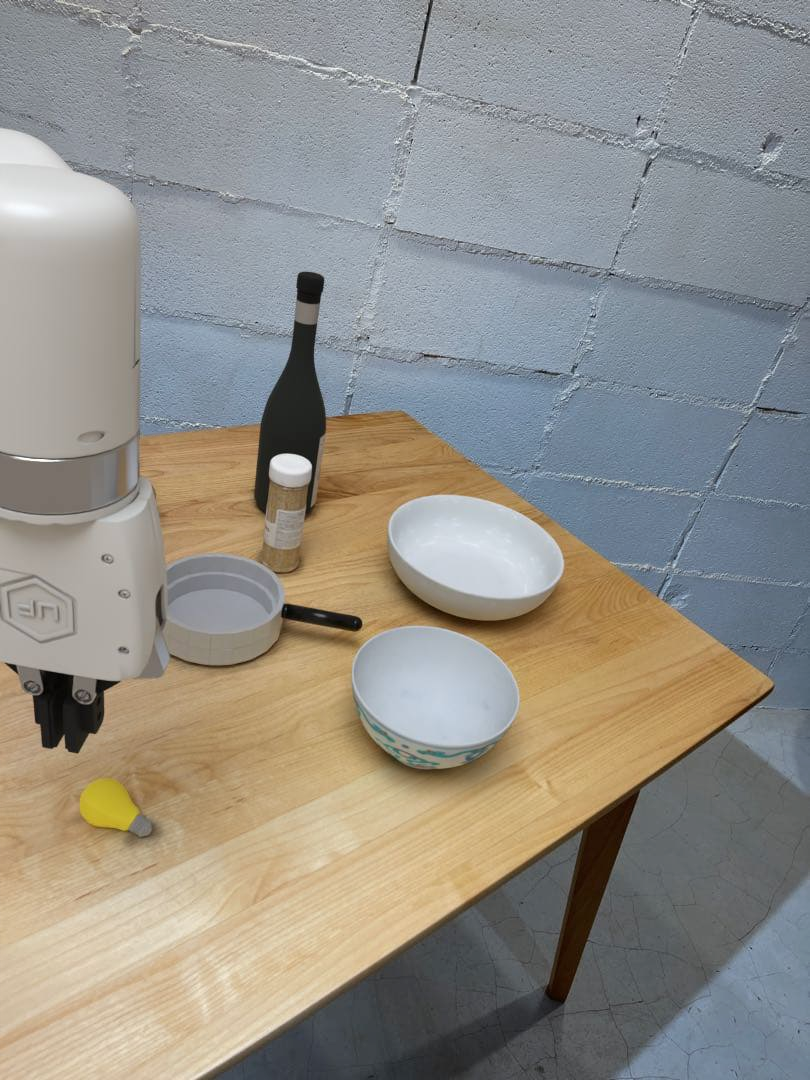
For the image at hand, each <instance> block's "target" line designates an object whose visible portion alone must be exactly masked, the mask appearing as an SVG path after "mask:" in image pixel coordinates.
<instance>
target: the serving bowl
mask: <svg viewBox="0 0 810 1080" xmlns="http://www.w3.org/2000/svg"><path fill="white" fill-rule="evenodd" d="M386 534H387V535H386V544H387V552H388V557H389V559H390V562H391V566H392V567H393V570H394V572H395V573H396V575H397V577H398V578H399V579H400V581H401V582H402V583H403V584H404V585H405V586H406V588H407V589H408V590H409V591H411V593H413V594H414V595H415V596H416V597H417V598H419V599H420V600H422V602H425V603H426V604H428V605H430V606H431V607H433V608H435V609H437V610H440V611H441V612H444V613H446V614H450V615H453V616H456V617H460V618H464V619H468V620H474V621H475V620H476V621H504V620H508V619H513V618H517V617H520V616H522V615H525V614H527V613H529V612H532V611H533V610H535V609H536V608H538V607H540V605H542V604H543V603H544V602H545V601H546V600H547V599H548V598H549V597H550V596H551V595H552V593H553V592H554V591H555V589H556V587H557V586H558V585H559V583H560V581H561V579H562V577H563V575H564V571H565V558H564V555H563V552H562V550H561V548H560V546H559V544H558V543H557V541H556V540H555V539H554V538H553V536H552V535H551V534H550V533H549V532H548V531H547V530H545V529H544V528H543V527H542V526H541V525H540V524H538V523H537V522H535V521H534V520H532V519H531V518H529V517H528V516H526V515H524V514H523V513H521V512H518V511H517V510H514V509H512V508H510V507H508V506H506V505H503V504H500V503H497V502H494V501H490V500H486V499H483V498H479V497H473V496H467V495H460V494H459V495H458V494H433V495H427V496H421V497H417V498H414V499H412V500H409V501H406V502H405V503H403V504H402V505H400V506H398V507H397V508H396V510H395V511H394V512H393V513H392V514H391V515H390V517H389V520H388V522H387V531H386Z"/></svg>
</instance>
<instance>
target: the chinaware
mask: <svg viewBox="0 0 810 1080" xmlns="http://www.w3.org/2000/svg"><path fill="white" fill-rule="evenodd" d="M350 679H351V682H350V683H351V692H352V698H353V702H354V705H355V709H356V712H357V715H358V717H359V719H360V721H361V723H362V725H363V727H364V729H365V730H366V732H367V733H368V735H369V736H370V737H371V738H372V740H373V741H374V742H375V743H376V744H377V745H378V746H379V747H380V748H381V749H382V750H384V751H385V752H386V753H388V755H391V756H392V757H393V758H395V759H396V760H397V761H398V762H400V763H402V764H403V765H405V766H407V767H410V768H414V769H418V770H436V769H439V770H440V769H442V770H443V769H450V768H456V767H459V766H462V765H465V764H468V763H470V762H473V761H474V760H477V759H478V758H480V757H482V756H484V755H485V754H486V753H487V752H488V751H490V750H491V749H492V748H494V747H495V745H496V744H498V742H500V740H501V739H502V738H503V737H504V736H505V735H506V733H507V732H508V730H510V727H511V726H512V724H513V723H514V721H515V720H516V718H517V715H518V713H519V709H520V703H521V696H520V689H519V686H518V683H517V680H516V678H515V676H514V674H513V672H512V670H510V668H509V667H508V665H507V664H506V663H505V662H504V661H503V660H502V659H501V657H499V656H498V655H497V654H496V653H495V652H493V651H492V650H491V649H490V648H489V647H487V646H486V645H484V644H482V643H481V642H480V641H477V640H475V639H474V638H471V637H470V636H467V635H464V634H462V633H460V632H457V631H454V630H450V629H446V628H442V627H437V626H429V625H407V626H405V625H404V626H399V627H394V628H390V629H387V630H384V631H382V632H379V633H377V634H376V635H374V636H372V637H370V638H369V639H368V640H367V641H365V642H364V643H363V644H362V645H361V646H360V647H359V649H358V651H357V652H356V654H355V656H354V657H353V661H352V664H351V671H350Z"/></svg>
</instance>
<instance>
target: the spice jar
mask: <svg viewBox="0 0 810 1080" xmlns="http://www.w3.org/2000/svg"><path fill="white" fill-rule="evenodd" d="M311 473H312V465H311V463H310V461H309V460H307V459H306V458H304V457H302V456H299V455H295V454H280V455H277V456H275V457H273V458H272V459H271V461H270V468H269V477H270V485H269V493H268V502H267V509H266V512H265V518H264V527H263V537H262V538H263V542H262V551H261V555H260V563H261V564H263V565H264V566H265V567H267V568H268V569H270V570H271V571H273V572H274V573H289V572H292V571H294V570H296V569H297V568H298V567H299V564H300V559H299V555H300V548H301V543H302V538H303V532H304V524H305V518H306V515H305V511H306V498H307V491H308V485H309V482H310V480H311Z"/></svg>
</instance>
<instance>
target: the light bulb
mask: <svg viewBox="0 0 810 1080" xmlns="http://www.w3.org/2000/svg"><path fill="white" fill-rule="evenodd" d="M78 802H79V812H80V814H81V817H82V818H83V820H84V821H86V823H88V824H89V825H92V826H94V827H97V828H110V829H117V830H119V831H122V832H125V831H129V832H130V833H132V834H134V835H136V836H137V837H138V838H143V837H147V836H150V834H151V833H152V831H153V826H152V825H153V824H152V820H151V819H150V820H149V818H147V817H145V816H144V815H143V814H141V813H140V808H139V807H138V806H137V805H135V804H134V803H133V800H132V798H131V796H130V794H129V793H128V791H127V788H126V787H125V786H124V785H123V784H122V783H121V782H120V781H119V780H116V779H114V778H108V777H103V778H99V779H96V780H94V781H92V782H91V783H89V784H88V785H87V786H86V787H85V788H84V790H83V791H82V793H80V798H79V801H78Z"/></svg>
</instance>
